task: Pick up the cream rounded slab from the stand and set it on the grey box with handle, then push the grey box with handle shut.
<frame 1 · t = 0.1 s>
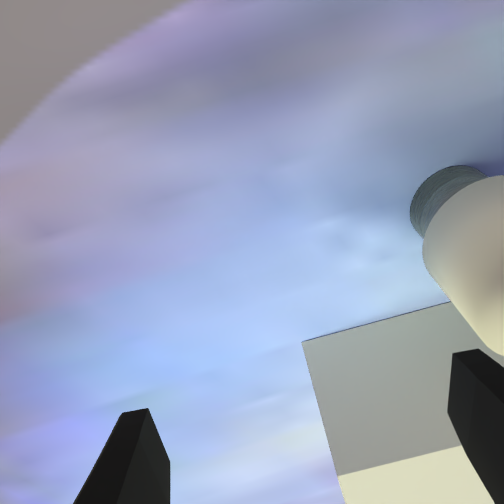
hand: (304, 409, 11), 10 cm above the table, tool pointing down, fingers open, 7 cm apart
stand: (450, 204, 20), on the table
cream rounded slab: (486, 237, 17), point 3 cm above the table, touching stand
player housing: (408, 400, 26), on the table
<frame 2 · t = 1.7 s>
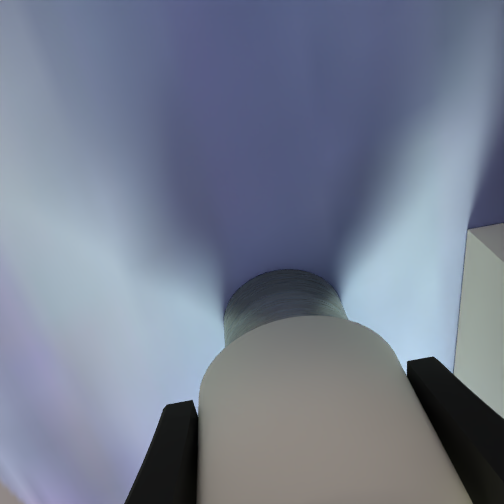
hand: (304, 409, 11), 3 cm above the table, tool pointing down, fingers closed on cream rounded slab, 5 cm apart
stand: (283, 319, 14), on the table
cream rounded slab: (301, 396, 11), point 3 cm above the table, touching gripper, stand
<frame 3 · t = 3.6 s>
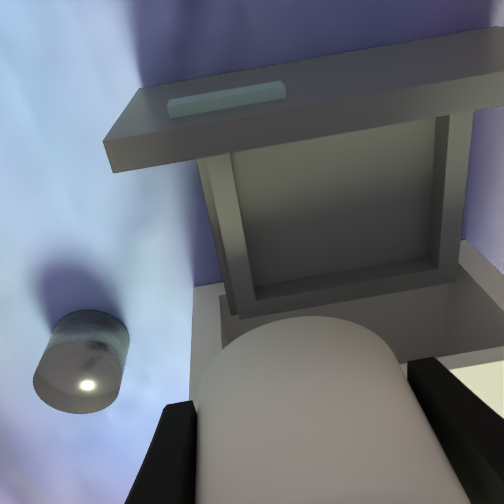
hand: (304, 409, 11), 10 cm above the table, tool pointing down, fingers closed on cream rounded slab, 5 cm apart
stand: (92, 339, 22), on the table
cream rounded slab: (299, 396, 11), point 10 cm above the table, touching gripper
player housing: (335, 342, 24), on the table
grey box with handle: (347, 210, 16), point 4 cm above the table, slide at 8.0 cm
when the fingers open (4 cm above the table, at t = 5.6 s): cream rounded slab drops 1 cm, resting on grey box with handle.
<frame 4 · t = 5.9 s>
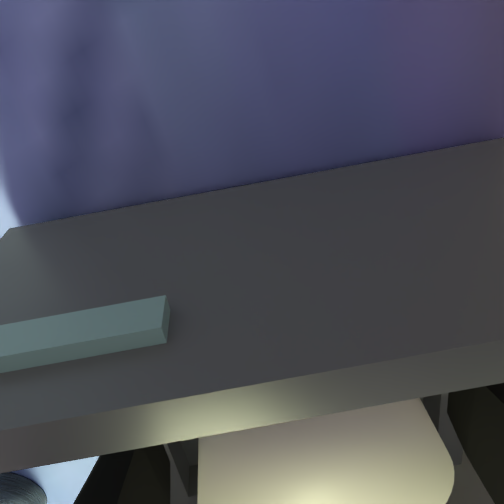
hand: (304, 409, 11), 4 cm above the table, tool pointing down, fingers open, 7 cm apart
cream rounded slab: (292, 358, 12), point 2 cm above the table, touching grey box with handle
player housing: (310, 490, 19), on the table
grey box with handle: (303, 408, 11), point 4 cm above the table, slide at 8.0 cm, touching cream rounded slab
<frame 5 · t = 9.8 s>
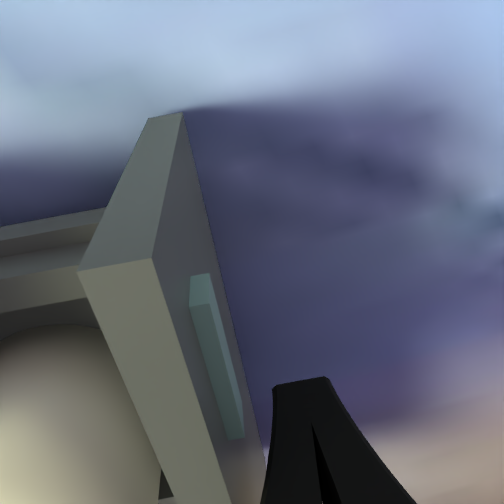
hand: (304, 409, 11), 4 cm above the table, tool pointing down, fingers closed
cream rounded slab: (75, 396, 12), point 2 cm above the table, touching grey box with handle
grey box with handle: (53, 448, 11), point 4 cm above the table, slide at 6.0 cm, touching gripper, cream rounded slab
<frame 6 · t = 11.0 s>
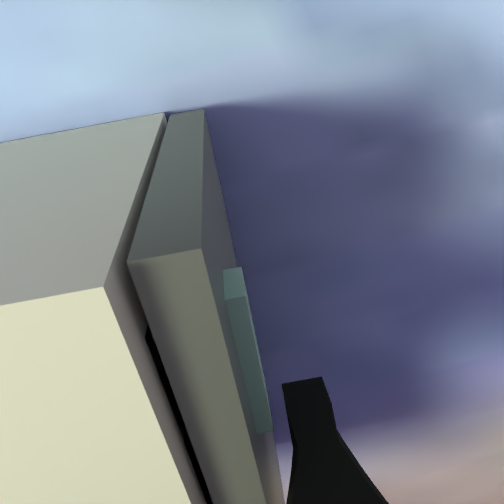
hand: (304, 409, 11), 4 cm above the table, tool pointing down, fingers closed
cream rounded slab: (93, 392, 12), point 2 cm above the table, touching grey box with handle
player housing: (61, 349, 14), on the table
grey box with handle: (74, 444, 11), point 4 cm above the table, slide at -0.1 cm, touching gripper, cream rounded slab
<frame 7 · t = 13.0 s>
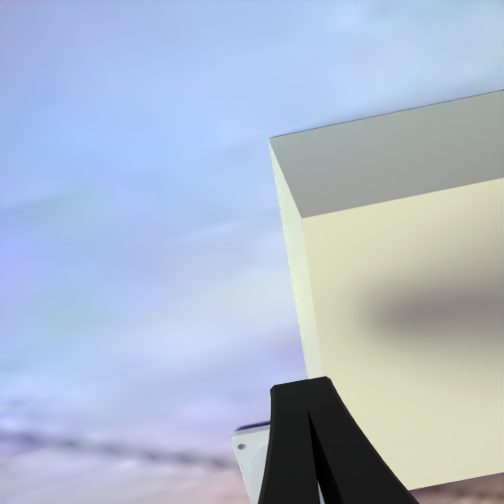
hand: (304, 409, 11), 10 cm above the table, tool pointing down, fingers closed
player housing: (394, 251, 21), on the table
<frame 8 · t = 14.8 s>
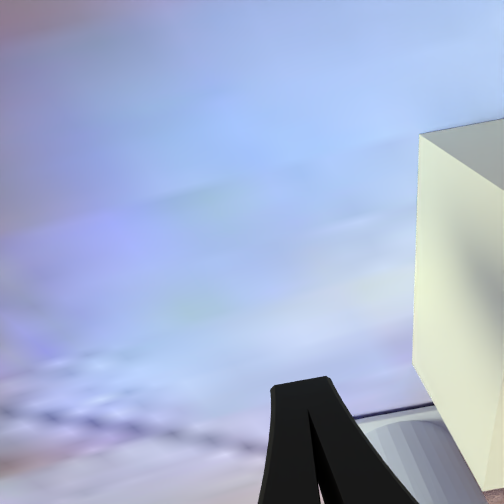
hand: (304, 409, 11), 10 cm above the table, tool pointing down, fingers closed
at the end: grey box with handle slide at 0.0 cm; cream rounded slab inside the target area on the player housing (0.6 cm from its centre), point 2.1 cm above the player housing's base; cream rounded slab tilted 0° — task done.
